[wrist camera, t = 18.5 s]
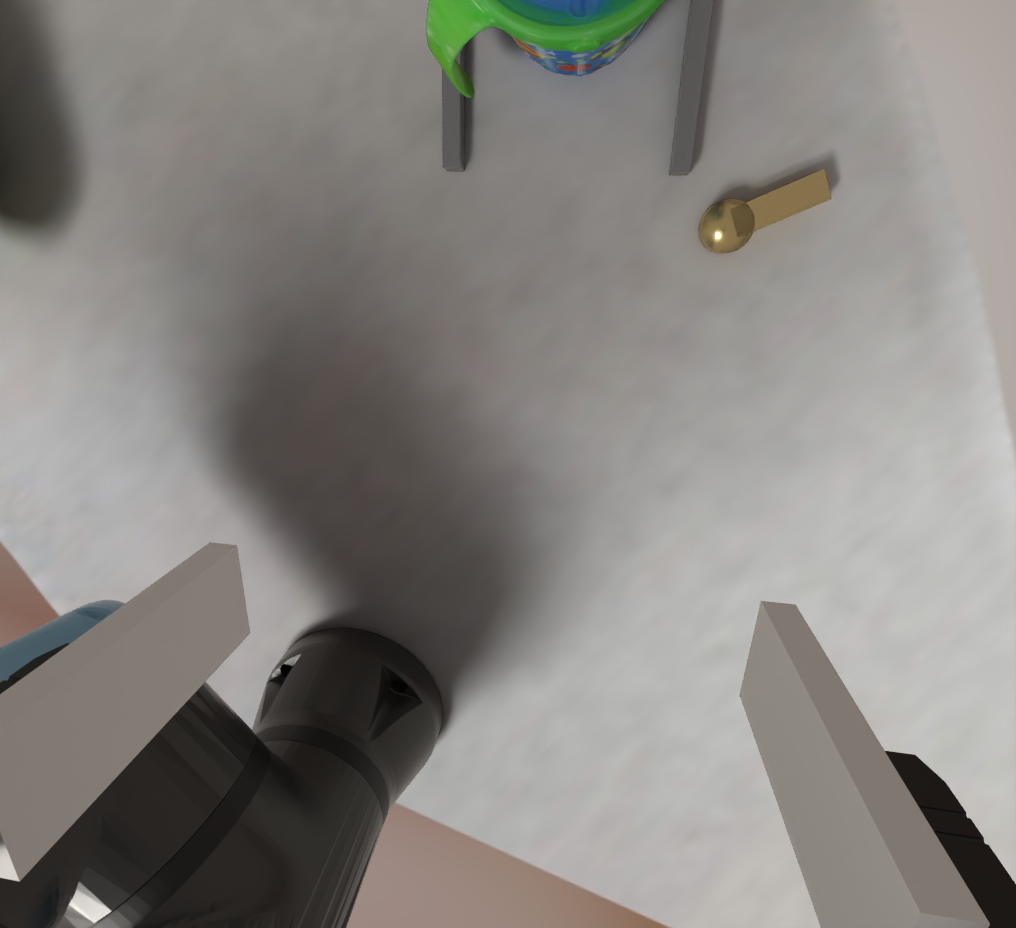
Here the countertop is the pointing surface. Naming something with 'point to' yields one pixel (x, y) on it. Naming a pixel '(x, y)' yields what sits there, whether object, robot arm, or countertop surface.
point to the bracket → (685, 110)
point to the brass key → (759, 212)
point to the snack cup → (538, 31)
